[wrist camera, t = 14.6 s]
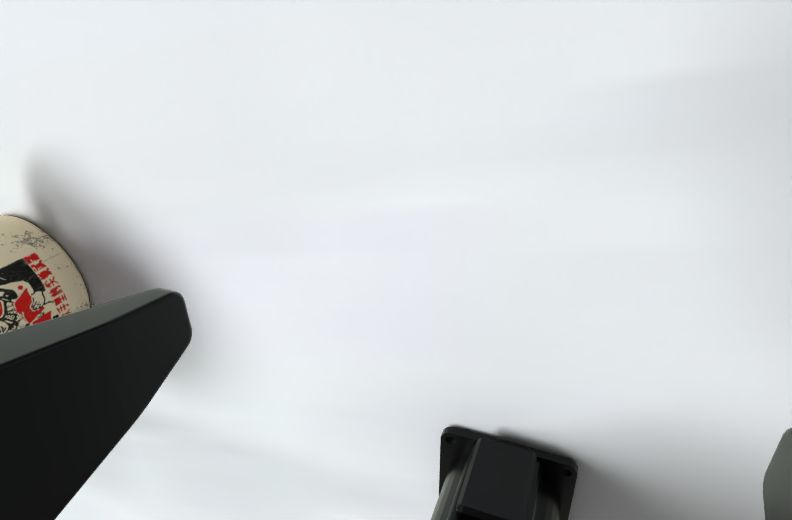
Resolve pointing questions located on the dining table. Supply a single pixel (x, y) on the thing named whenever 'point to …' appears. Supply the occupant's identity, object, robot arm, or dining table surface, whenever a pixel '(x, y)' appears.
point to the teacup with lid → (35, 277)
